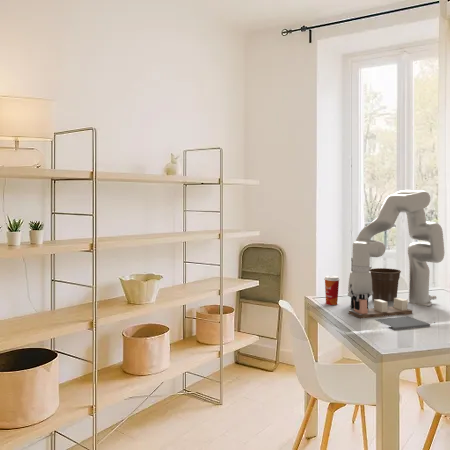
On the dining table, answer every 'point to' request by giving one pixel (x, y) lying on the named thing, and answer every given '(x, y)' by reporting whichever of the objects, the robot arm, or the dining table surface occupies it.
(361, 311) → the salmon pink block
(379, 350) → the dining table surface
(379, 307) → the cream rectangular block
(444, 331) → the dining table surface
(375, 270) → the plant pot
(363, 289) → the robot arm
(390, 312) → the brown wooden board
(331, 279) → the paper cup
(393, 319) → the charcoal mat
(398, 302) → the cream square block
